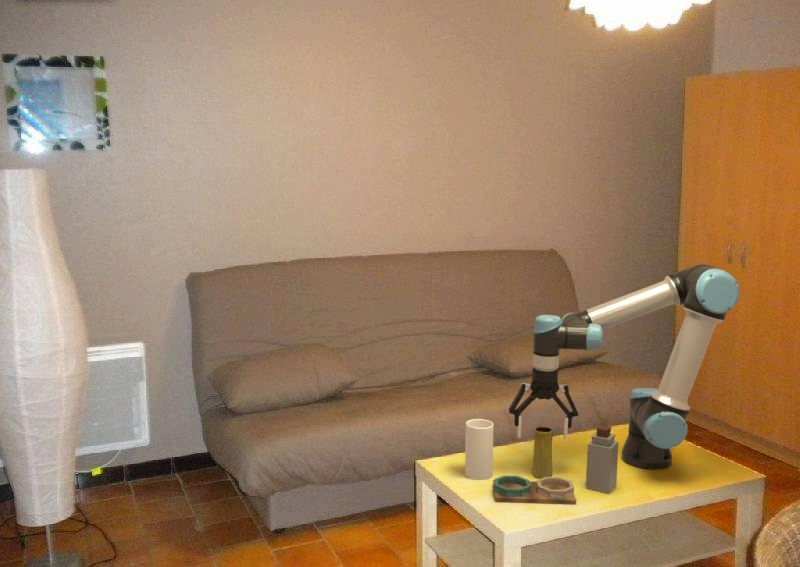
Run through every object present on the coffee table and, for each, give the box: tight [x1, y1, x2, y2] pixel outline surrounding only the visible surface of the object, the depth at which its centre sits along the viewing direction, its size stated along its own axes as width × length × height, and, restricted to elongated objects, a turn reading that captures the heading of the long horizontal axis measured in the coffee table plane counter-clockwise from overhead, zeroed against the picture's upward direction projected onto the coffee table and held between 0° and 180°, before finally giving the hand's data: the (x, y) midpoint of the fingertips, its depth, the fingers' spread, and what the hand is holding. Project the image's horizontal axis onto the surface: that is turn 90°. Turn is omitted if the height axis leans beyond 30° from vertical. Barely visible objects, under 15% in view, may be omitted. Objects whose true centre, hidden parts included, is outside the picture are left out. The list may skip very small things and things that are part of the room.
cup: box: [464, 418, 494, 481], centre depth 235 cm, size 8×8×16 cm
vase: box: [531, 426, 554, 479], centre depth 235 cm, size 6×6×14 cm
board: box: [492, 475, 577, 505], centre depth 222 cm, size 22×12×3 cm, turn 86°
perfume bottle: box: [585, 424, 619, 495], centre depth 226 cm, size 7×7×18 cm
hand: (542, 437), depth 234 cm, fingers open, 13 cm apart
